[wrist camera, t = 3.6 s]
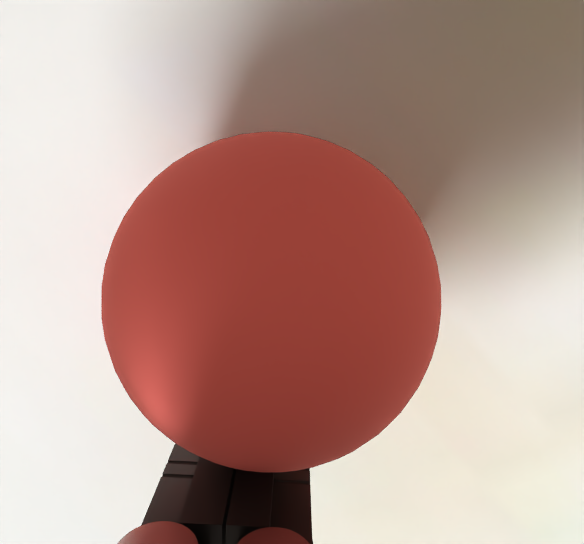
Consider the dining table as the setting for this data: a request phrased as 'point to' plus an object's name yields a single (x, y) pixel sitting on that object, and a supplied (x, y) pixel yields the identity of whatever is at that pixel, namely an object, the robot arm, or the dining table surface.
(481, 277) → the dining table surface
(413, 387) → the ball
